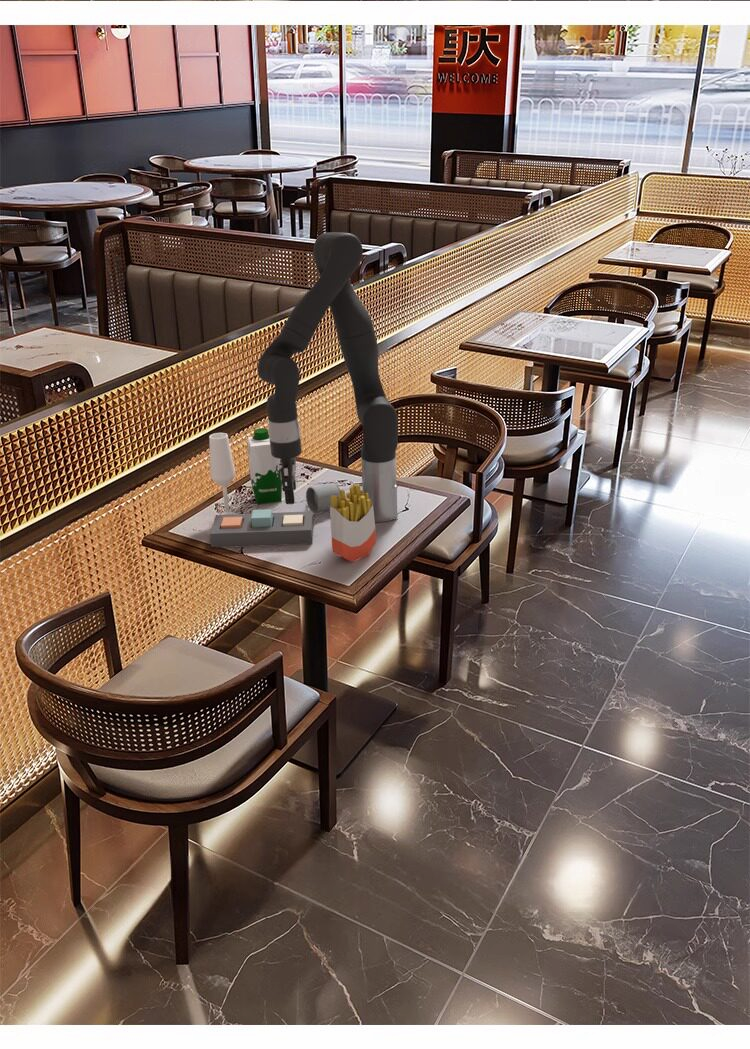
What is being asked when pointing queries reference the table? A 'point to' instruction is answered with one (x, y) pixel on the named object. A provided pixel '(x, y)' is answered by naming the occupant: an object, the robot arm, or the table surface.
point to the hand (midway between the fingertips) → (291, 496)
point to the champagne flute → (221, 464)
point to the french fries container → (352, 524)
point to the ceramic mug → (321, 497)
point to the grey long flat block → (262, 532)
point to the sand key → (293, 520)
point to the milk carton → (264, 469)
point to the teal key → (262, 518)
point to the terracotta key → (231, 522)
